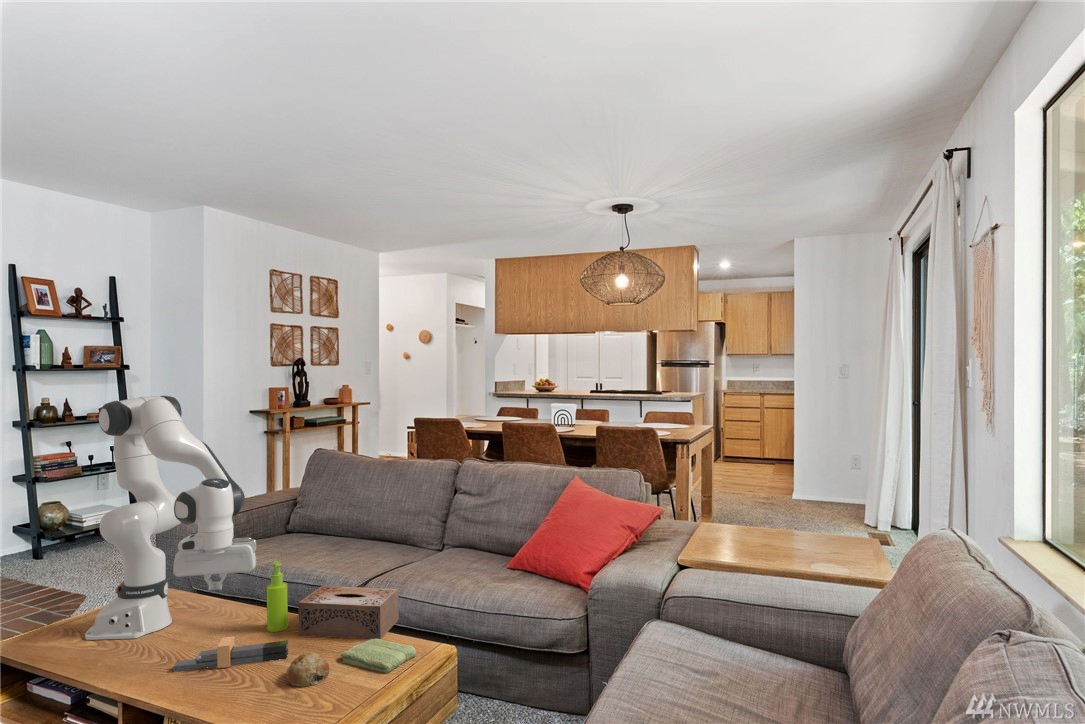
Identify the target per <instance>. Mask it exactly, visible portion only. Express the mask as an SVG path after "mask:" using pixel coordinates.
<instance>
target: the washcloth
mask: <svg viewBox="0 0 1085 724" xmlns="http://www.w3.org/2000/svg"><path fill="white" fill-rule="evenodd" d="M416 655H417V651H416V649H415V647H414V646H413V645H409V644H401V643H398V642H394V641H393V642H392V641H389V640H388V641H387V640H384V639H382V638H381V639H367V641H364V642H361V643H359V644H356V645H353V646H352V648H350V649H348V650H344V651H342V652H341V653H340V657H341V658H342V663H343V662H344V663H343V664H347V665H351V664H352V665H351V666H354V665H355V667H359V668H364V669H367V670H371V671H376V672H380V673H385V674H387V673H390V672H391V671H393V670H394V669H397V668H398V667H400V665H401V664H403V663H406V662H408V661H409V660H411V659H413V658H415V656H416Z"/></svg>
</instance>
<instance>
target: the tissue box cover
mask: <svg viewBox="0 0 1085 724" xmlns="http://www.w3.org/2000/svg"><path fill="white" fill-rule="evenodd" d="M399 604H400V603H399V589H398V588H379V587H358V586H357V587H355V586H338V585H337V586H334V585H321V586H319V587H318V588H317V589H316V590H314V591H312V592H311V593H310V594H308V595H307V596H306V597H304V598H303V599H302V600H299V602H298V636H309V635H314V636H313V637H327V636H331V638H332V637H333V638H345V637H346V639H348V638H349V639H365V640H366V639H367V640H371V639H381V640H382V638H383V637H384V636H385V635H386V634H387V633H388V632H389V631H390V630H391V629H392V628H393V626H394V625H396V623H398V622H399V618H400V617H399V616H400V615H399ZM315 635H316V636H315Z"/></svg>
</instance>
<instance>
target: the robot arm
mask: <svg viewBox="0 0 1085 724" xmlns="http://www.w3.org/2000/svg"><path fill="white" fill-rule="evenodd" d="M182 412H183V411H182V406H181V404H180V402H179V400H178V399H177V398H175V396H172V395H159V396H138V397H135V398H128V399H123V400H113V401H110V402H107V403H105V404H103V405H102V407H100V409H99V412H98V413H99V414H98V422H99V423H98V424H99V427H100V429H101V431H102V432H103V433H105V435H107V436H113V437H114V438H113V456H114V464H115V465H114V466H115V472H116V478H117V484H118V486H119V487H120V488H121V489H123V490H126V491H128V492H130V493H131V494H133V496H134V499H135V500H136V502H134V503H130V504H126V505H125V504H124V505H121V506H119V507H116V508H114V509H112V510H110V511H108V512H106V513H105V514H103V515H102V517H101V520H100V522H99V532H100V535H101V537H102V538H103V539H104V540H105V541H106V542H107V543H109V544H111V545H113V546H114V547H115V548H117V551H119V554H120V556H121V559H122V564H123V580H122V581H120V583H119V585H118V586H117V587H116V588H115V594H116V595H117V596H116V597H114V598H113V599H112V600H111V601H110V602H109V603H107V604H106V605H105V606H103V608H101V609H100V611H98V613H97V614H96V617H95V620H94V623H93V625H92V626H91V627H89V629H87V631H86V632H85V636H84V639H85V640H86V641H90V640H91V641H92V640H93V641H94V640H95V641H96V640H97V641H98V640H122V639H123V640H124V639H125V640H128V639H129V640H131V639H138V638H140V637H143V636H145V635H147V634H151V633H154V632H157V631H160V630H162V629H164V628H167V626H170V624H172V623H173V618H172V615H171V613H170V609H169V603H168V597H167V596H168V592H169V583H168V577H167V575H166V574H167V573H166V572H167V570H166V568H167V565H166V553H165V552H164V550H162V549H161V548H158V547H156V546H153V544H152V541H151V536H154V535H156V534H160V533H164V532H166V531H169V530H172V529H173V528H175V527H177V526H179V525H180V524H181V523H182V524H183V525H197V532H196V533H194V534H191V535H188V536H186V537H184V538H182V539H181V540H180V541H179V542H178V544H177V549H178V551H177V552H176V553H175V556H174V560H173V571H172V573H173V575H174V576H175V577H176V578H177V577H180V578H181V577H194V576H195V577H196V576H203V579H204V581H205V582H206V584H207V585H208V591H220V590H222V589H223V582H224V581H225V578H227V576H228V574H237V573H238V574H239V573H250V572H252V571H253V570H254V569H255V568H256V566H257V559H256V558H257V557H256V551H257V541H256V540H255V539H254V538H252V537H251V536H250V537H249V536H247V537H235V536H234V522H233V518H235V517H236V516H237V515H238V514H239V513H240V512H241V511H242V509H243V507H244V505H245V502H246V496H245V492H244V491H243V489H242V487H240V485H239V484H237V482H236V481H235V480H233V479H232V478H231V476H230V475H229V473H228V471H227V470H226V469H225V467H224V465H223V464H222V463H221V461H220V460H219V459H218V457H217V456H216V454H215V453H214V451H213V450H212V449H211V448H210V446H208V444H207V443H205V442H204V441H202V440H200V439H199V438H197V437H196V436H195V435H194V434H192V433H191V432H190V431H189V429H188V428H187V427H186V425H185V422H184V421H183V418H182ZM158 459H160V460H162V461H165V462H171V463H179V464H185V465H188V466H191V467H194V468H196V469H198V470H199V471H200V472H201V474H202V475H203V477H204V478H205V479H204V480H202V481H201V482H200V483H199V484H198V486H196V487H193V488H190V489H187V490H184V491H182V492H181V493H179V494H178V496H175V495H174V494H172V492H170V491H169V490H168V489H167V487H166V486H165V484H164V482H163V480H162V477H161V474H160V469H159V463H158ZM213 575H219V578H221V579H220V580H219V581H213V580H212V578H211V577H212V576H213Z"/></svg>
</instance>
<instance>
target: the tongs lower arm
mask: <svg viewBox="0 0 1085 724" xmlns="http://www.w3.org/2000/svg"><path fill="white" fill-rule="evenodd" d="M288 654H289V647H288V648H287V650H286V651H282V652H274V653H266V654H256V655H248V656H240V657H232V658H230V666H237V665H246V664H255V663H261V662H262V663H264V662H265V661H266V662H271V661H270V660H274V661H280V660H279V659H283V660H287V659H286V658H288V656H289V655H288ZM287 655H288V656H287ZM207 667H208V668H207ZM209 667H213V668H217V659H216V660H208V661H200V662H196V661H195V658H194V659H185V660H177V661H176V662H175V663H174V665H173V673H176V672H185V671H186V672H187V671H193V670H202V669H201V668H204V669H210V668H209Z"/></svg>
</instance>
